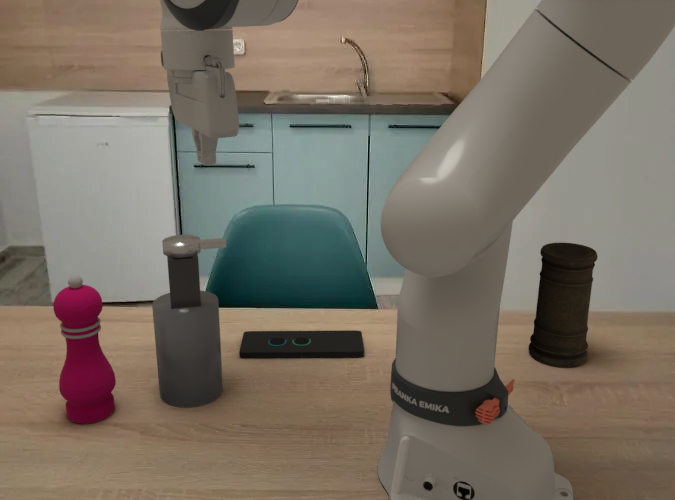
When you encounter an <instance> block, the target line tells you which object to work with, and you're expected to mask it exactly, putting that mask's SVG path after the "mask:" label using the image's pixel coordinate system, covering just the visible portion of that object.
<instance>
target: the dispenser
mask: <svg viewBox="0 0 675 500" xmlns="http://www.w3.org/2000/svg"><path fill="white" fill-rule="evenodd" d="M198 254H199V253H198ZM198 254H196V255H194V256H189V257H180V258H176V257H169V256H166V257H167V270H168V274H167V275H168V282H169V283H168V284H169V292H167V293H164V294H162V295H160V296H158V297H157V298H155V299H154V300H153V302H152V304H151V307H152V309H151V310H152V317H153V318H152V319H153V321H152V322H153V329H154V332H153V333H154V343H155V354H156V365H157V366H156V367H157V377H158V388H159V389H158V390H159V398H160V400H161V401H162V402H163V403H165V404H167V405H168V406H171V407H175V408H183V409H184V408H195V407H196V408H197V407H202V406H205V405H207V404H208V405H209V404H210V403H212V402H214V401H215V400H216V401H217V399H218V398H219V397H220V396H221V395H222V393H223V391H224V386H223V383H224V382H223V367H222V366H223V365H222V363H223V362H222V346H221V345H222V343H221V328H220V326H221V325H220V324H221V323H220V310H219V309H220V307H219V305H220V304H219V298H218V296H217V295H216V294H215V293H213V292H209V291H205V290H201V282H200V269H199V268H200V266H199V263H200V262H199V255H198Z"/></svg>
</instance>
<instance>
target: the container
mask: <svg viewBox="0 0 675 500" xmlns="http://www.w3.org/2000/svg"><path fill="white" fill-rule="evenodd" d="M539 254H540V255H541V260H540V261H541V270H540V271H539V281H538V282H539V283H538V292H537V301H536V309H535V311H536V312H535V318H534V320H533V333H532V334H531V336H530V337H529V341H530V343H529V344H528V353H529V355H530V356H531V358H533V359H534V360H535V361H537V362H539V363H541V364H544V365H548V366H551V367H558V368H574V367H577V366H581V365H583V364H584V363H585V362H587V359H588V356H589V354H588V349H589V345H588V342H587V337H588V336H587V335H588V331H589V326H588V322H589V312H590V311H589V310H590V304H591V303H590V302H591V295H592V287H593V282H594V277H593V272H594V268H595V266H596V264H595V263H596V262H597V261H598V258H599V257H598V254H597V251H596V250H595V249H594V248H592V247H589V246H587V245H583V244H579V243H573V242H552V243H551V242H549V243H547V244H544V245H542V247H541V248H540V253H539Z"/></svg>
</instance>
